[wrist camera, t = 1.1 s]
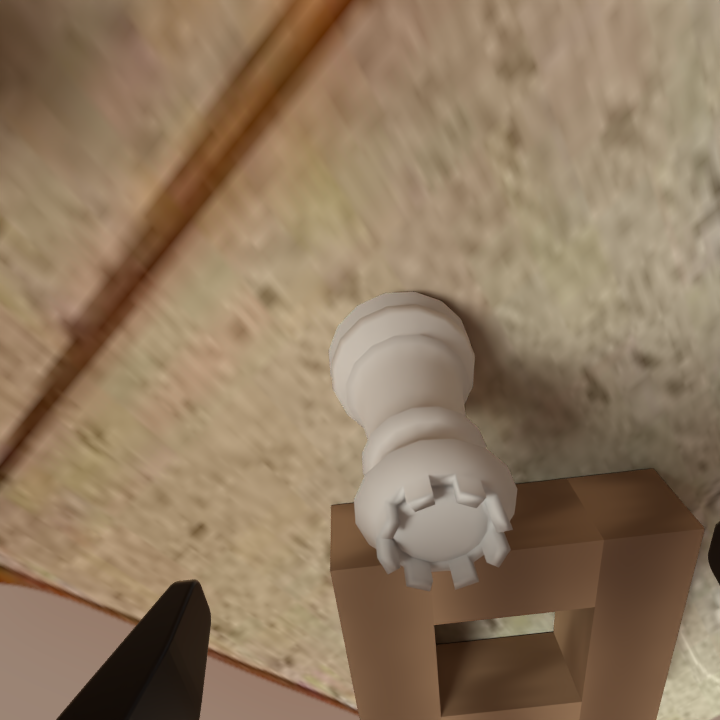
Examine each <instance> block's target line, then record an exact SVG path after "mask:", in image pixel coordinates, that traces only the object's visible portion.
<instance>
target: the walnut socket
mask: <svg viewBox="0 0 720 720" xmlns="http://www.w3.org/2000/svg"><path fill="white" fill-rule="evenodd" d="M515 485H516V487H517V497H516V505H515V513H514V515H513V517H512V518H511V520H510V523H511V525H512V528H513V530H509V531H505V532H504V533H505V536H506V538H507V541H508V544H509V546H510V549H511V550H510V551H509V553H508V554H507V556H506V557H505V559H504V560H503V562H502V563H501V565H500V566H499V567H496V566H494V565H492V564H489V563H487V562H486V559H485V556H484V555H483V556H482V557H480V558H479V559H478V560H476V561H475V562H474V565H475V569H476V572H477V576H478V579H479V582H477V583H474V584H471V585H468V586H465V587H462V588H459V589H456V590H455V587H454V583H453V578H452V574H451V571H437V572H431V573H432V578H433V583H432V586H431V590H430V591H425V590H421V589H416V588H412V587H407V586H406V580H405V573H404V567H403V566H401V565H400V567H401V568H399V569H397V570H395V571H394V572H392V573H390V574H387V572H386V571H385V569H384V568H383V566H382V565H381V563H380V561H379V560H378V558H377V550H376V549H375V548H374V547H372V546H371V545H369V544H368V542H367V541H366V539H365V538H364V536H363V535H362V533H361V531H360V530H359V528H358V527H357V525H356V524H355V508H354V503H349V504H341V505H332V506H331V558H330V572H331V577H332V582H333V587H334V592H335V597H336V602H337V607H338V612H339V617H340V622H341V627H342V632H343V637H344V642H345V647H346V653H347V658H348V663H349V668H350V673H351V678H352V683H353V688H354V693H355V698H356V703H357V708H358V713H359V718H360V720H656V718H657V714H658V710H659V706H660V702H661V698H662V694H663V691H664V687H665V683H666V679H667V675H668V671H669V667H670V663H671V659H672V655H673V651H674V647H675V643H676V640H677V636H678V632H679V628H680V624H681V620H682V616H683V612H684V608H685V604H686V600H687V596H688V593H689V589H690V585H691V581H692V577H693V573H694V569H695V565H696V561H697V557H698V553H699V549H700V546H701V542H702V538H703V534H704V530H705V528H704V527H703V526H702V525H701V524H700V522H699V521H698V520H697V519H696V518H695V517H694V515H693V514H692V513H691V512H690V511H689V510H688V508H687V507H686V506H685V505H684V504H683V503H682V501H681V500H680V499H679V498H678V497H677V496H676V494H675V493H674V492H673V491H672V490H671V489H670V487H669V486H668V485H667V484H666V483H665V482H664V480H663V479H662V478H661V477H660V476H659V475H658V473H657V472H656V471H655V470H654V469H644V470H636V471H627V472H618V473H610V474H601V475H592V476H584V477H575V478H566V479H558V480H549V481H540V482H532V483H523V484H515ZM547 612H555V620H554V632H550V633H541V634H532V635H523V636H514V637H504V638H495V639H486V640H477V641H468V642H459V643H450V644H441V645H436V643H435V630H434V625H439V624H448V623H457V622H466V621H475V620H484V619H493V618H502V617H511V616H520V615H529V614H538V613H547Z"/></svg>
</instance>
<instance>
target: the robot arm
mask: <svg viewBox="0 0 720 720" xmlns="http://www.w3.org/2000/svg"><path fill="white" fill-rule="evenodd" d="M708 560H709V565H710V567H711V570H712V572H713V573H714V575H715V577H716V579H717V581H718V583H719V585H720V521H719V522H718V523H717V524H716V526H715V530H714V533H713V537H712V541H711V545H710V548H709V552H708ZM210 627H211V613H210V609H209V606H208V603H207V601H206V598H205V595H204V592H203V590H202V587H201V585H200V583H199V582H198V581H197V580H185V581H177V582H175V583H173V584H172V585H171V586H170V587H169V588H168V589H167V590H166V591H165V593H164V594H163V595H162V596H161V597H160V598H159V600H158V601H157V602H156V603H155V604H154V605H153V607H152V608H151V609H150V610H149V611H148V612H147V614H146V615H145V616H144V617H143V618H142V619H141V621H140V622H139V623H138V624H137V625H136V627H135V628H134V629H133V630H132V631H131V633H130V634H129V635H128V636H127V637H126V638H125V639H124V641H123V642H122V643H121V644H120V645H119V647H118V648H117V649H116V650H115V651H114V652H113V654H112V655H111V656H110V657H109V658H108V659H107V661H106V662H105V663H104V664H103V665H102V666H101V668H100V669H99V670H98V671H97V672H96V673H95V675H94V676H93V677H92V678H91V679H90V680H89V682H88V683H87V684H86V685H85V686H84V688H83V689H82V690H81V691H80V692H79V693H78V695H77V696H76V697H75V698H74V699H73V700H72V702H71V703H70V704H69V705H68V706H67V708H66V709H65V710H64V711H63V712H62V713H61V714H60V716H59V717H58V718H57V719H56V720H199V717H200V711H201V703H202V695H203V685H204V677H205V669H206V661H207V652H208V644H209V635H210Z"/></svg>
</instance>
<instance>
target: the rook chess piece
mask: <svg viewBox="0 0 720 720" xmlns="http://www.w3.org/2000/svg"><path fill="white" fill-rule="evenodd" d="M329 361H330V373H331V377H332V387H333V390H334V392H335V394H336V396H337V397H338V399H339V401H340V403H341V404H342V406H343V408H344V410H345V411H346V413H347V415H348V416H349V417H351V418H352V419H353V420H355V421H356V422H357V423H358V424H359V425H361V426H362V427H363V428H364V429H365V433H366V436H367V439H368V441H367V443H366V446H365V448H364V450H363V452H362V462H363V474H364V475H365V476H364V478H363V480H362V483H361V485H360V487H359V489H358V491H357V494H356V496H355V498H354V508H355V524H356V525H357V527H358V528H359V530H360V531H361V533H362V535H363V536H364V538H365V539H366V541H367V542H368V544H369V545H371V546H372V547H374V548H375V549H376V550H377V558H378V560H379V561H380V563H381V565H382V566H383V568H384V569H385V571H386V572H387V574H390V573H392V572H394V571H395V570H397V569H399V568H401V567H400V565H401V566H403V567H404V573H405V580H406V586H407V587H412V588H416V589H421V590H425V591H430V590H431V586H432V583H433V578H432V573H431V572H437V571H451V574H452V578H453V583H454V587H455V590H456V589H459V588H462V587H465V586H468V585H471V584H474V583H477V582H479V579H478V576H477V572H476V569H475V565H474V562H475V561H476V560H478V559H479V558H480V557H482V556H483V555H484V556H485V559H486V562H487V563H489V564H492V565H494V566H496V567H499V566H500V565H501V563H502V562H503V560H504V559H505V557H506V556H507V554H508V553H509V551H510V550H511V549H510V546H509V544H508V541H507V538H506V536H505V533H504V532H505V531H509V530H513V528H512V525H511V523H510V520H511V518H512V517H513V515H514V513H515V505H516V497H517V487H516V485H515V482H514V480H513V477H512V475H511V473H510V470H509V468H508V466H507V465H506V464H505V463H504V462H502V461H501V460H500V459H499V458H497V457H496V456H495V455H494V454H492V453H491V452H490V451H489V450H488V449H486V444H485V442H484V439H483V437H482V435H481V432H480V430H479V428H478V427H477V426H476V425H475V424H474V423H472V422H471V421H470V420H469V419H468V418H466V413H465V407H464V404H465V402H466V401H467V399H468V395H469V393H470V391H471V390H472V388H473V379H474V363H475V354H474V352H473V350H472V347H471V345H470V340H469V338H468V335H467V333H466V330H465V328H464V325H463V323H462V320H461V319H460V318H459V317H458V316H457V315H456V314H455V313H454V312H453V311H452V310H451V309H449V308H448V307H447V306H446V305H445V304H444V303H443V302H442V301H440V300H437V299H434V298H431V297H428V296H425V295H423V294H420V293H417V292H398V293H384V294H382V295H379V296H377V297H375V298H373V299H371V300H368V301H366V302H364V303H362V304H359V305H357V306H356V307H355V309H354V310H353V311H352V312H351V313H350V314H349V315H348V316H347V317H346V318H345V319H344V320H343V321H342V322H341V323H340V324H339V325H338V327H337V330H336V332H335V335H334V338H333V340H332V343H331V346H330V348H329Z"/></svg>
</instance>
